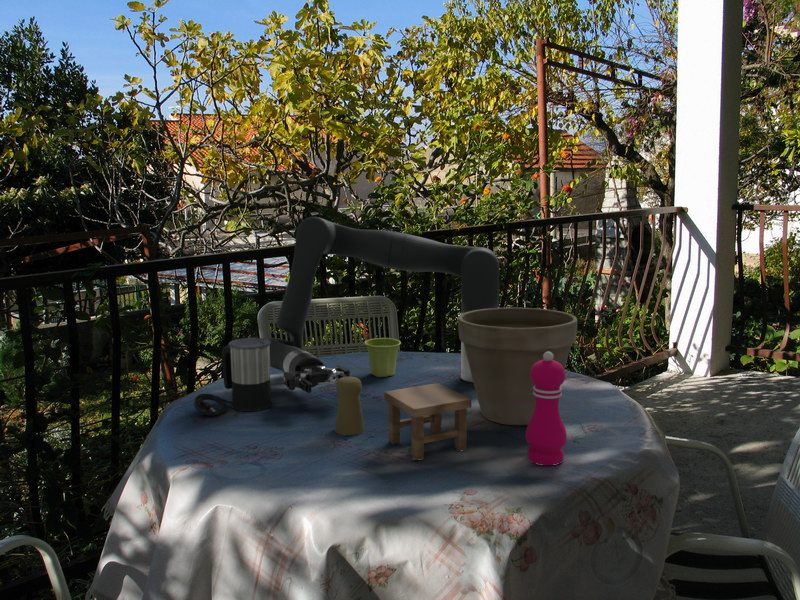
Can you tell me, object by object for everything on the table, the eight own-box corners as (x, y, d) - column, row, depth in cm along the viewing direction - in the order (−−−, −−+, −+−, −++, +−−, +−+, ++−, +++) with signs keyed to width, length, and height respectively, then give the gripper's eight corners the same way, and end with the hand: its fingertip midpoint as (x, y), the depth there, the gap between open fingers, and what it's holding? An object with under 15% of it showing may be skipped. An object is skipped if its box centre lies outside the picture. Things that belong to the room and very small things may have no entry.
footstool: (438, 430, 140) (438, 382, 138) (471, 450, 130) (471, 399, 128) (384, 441, 135) (384, 391, 133) (414, 462, 124) (414, 409, 122)
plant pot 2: (456, 396, 163) (456, 305, 159) (562, 397, 161) (565, 305, 158) (459, 434, 138) (459, 327, 134) (585, 436, 137) (589, 328, 133)
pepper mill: (520, 452, 128) (522, 347, 125) (558, 451, 129) (562, 346, 126) (531, 468, 121) (533, 357, 118) (571, 466, 122) (575, 356, 119)
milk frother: (281, 402, 160) (278, 339, 157) (240, 424, 145) (237, 355, 143) (229, 395, 165) (226, 334, 163) (185, 416, 151) (181, 349, 148)
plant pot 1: (402, 369, 186) (402, 338, 185) (399, 379, 177) (398, 346, 175) (368, 369, 187) (367, 337, 186) (362, 378, 178) (362, 345, 176)
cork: (369, 426, 143) (368, 375, 141) (357, 437, 137) (356, 383, 135) (342, 423, 145) (341, 372, 143) (330, 433, 139) (328, 380, 137)
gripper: (273, 356, 160) (296, 373, 145) (331, 349, 166) (358, 364, 152) (274, 387, 161) (297, 407, 147) (331, 379, 167) (359, 397, 153)
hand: (328, 385), depth 149 cm, fingers open, 8 cm apart
